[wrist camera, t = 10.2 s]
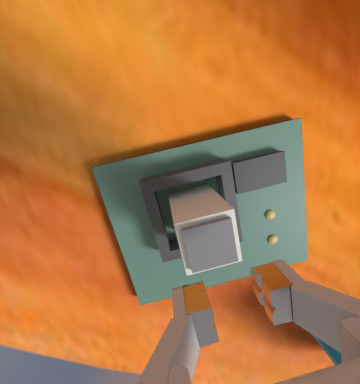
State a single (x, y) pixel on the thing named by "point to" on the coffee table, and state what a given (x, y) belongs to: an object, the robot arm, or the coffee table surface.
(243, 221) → the board
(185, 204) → the plug
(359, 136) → the coffee table surface
